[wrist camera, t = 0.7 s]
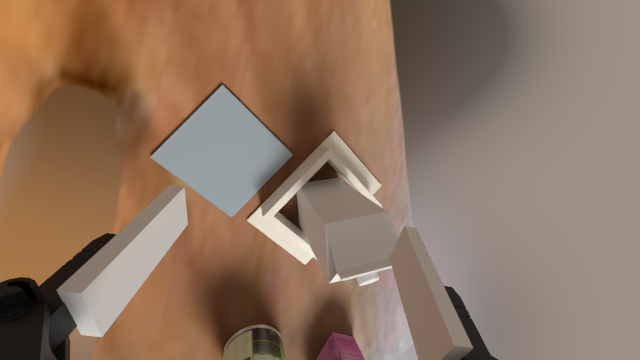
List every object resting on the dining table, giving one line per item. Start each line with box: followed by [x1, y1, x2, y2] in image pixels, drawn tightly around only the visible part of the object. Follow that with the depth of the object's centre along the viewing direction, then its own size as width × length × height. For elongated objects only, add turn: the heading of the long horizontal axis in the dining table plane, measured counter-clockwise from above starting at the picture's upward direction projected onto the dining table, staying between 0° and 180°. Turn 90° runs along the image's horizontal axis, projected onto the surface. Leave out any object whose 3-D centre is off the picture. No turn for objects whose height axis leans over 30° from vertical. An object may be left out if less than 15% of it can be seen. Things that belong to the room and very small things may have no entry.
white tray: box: [247, 131, 382, 265], centre depth 37 cm, size 19×13×4 cm
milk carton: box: [296, 178, 398, 286], centre depth 31 cm, size 7×7×19 cm
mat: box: [151, 85, 293, 218], centre depth 33 cm, size 13×13×1 cm
